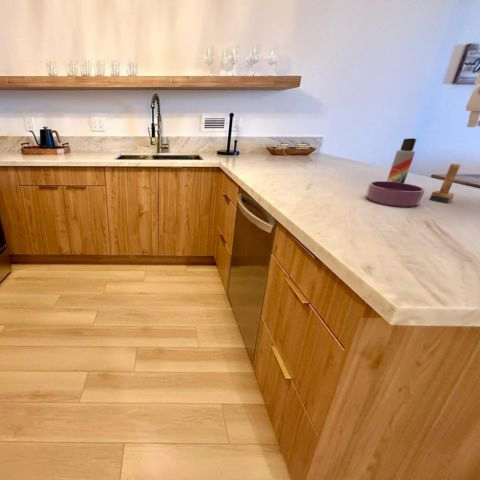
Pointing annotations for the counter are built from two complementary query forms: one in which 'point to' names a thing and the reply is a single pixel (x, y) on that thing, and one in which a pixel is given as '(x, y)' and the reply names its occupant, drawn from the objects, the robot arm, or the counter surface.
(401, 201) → the plum bowl
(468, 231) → the counter surface
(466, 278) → the counter surface
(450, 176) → the dish brush
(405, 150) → the lotion bottle
